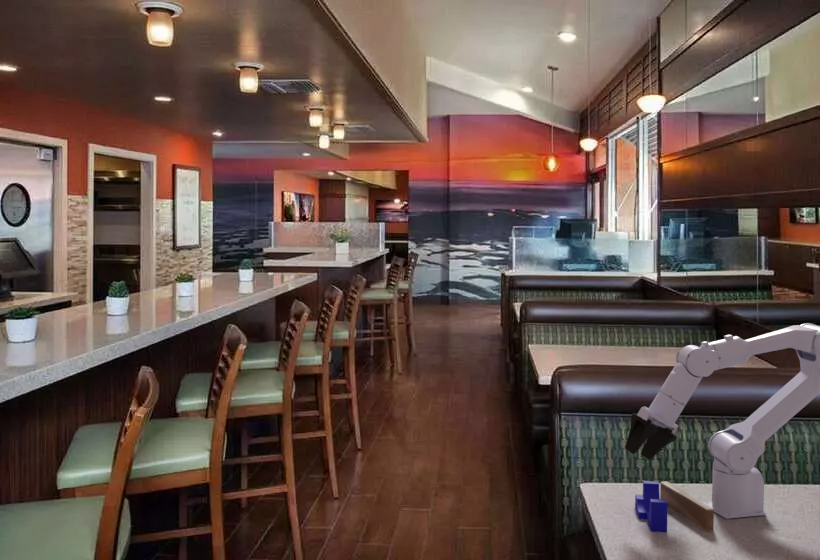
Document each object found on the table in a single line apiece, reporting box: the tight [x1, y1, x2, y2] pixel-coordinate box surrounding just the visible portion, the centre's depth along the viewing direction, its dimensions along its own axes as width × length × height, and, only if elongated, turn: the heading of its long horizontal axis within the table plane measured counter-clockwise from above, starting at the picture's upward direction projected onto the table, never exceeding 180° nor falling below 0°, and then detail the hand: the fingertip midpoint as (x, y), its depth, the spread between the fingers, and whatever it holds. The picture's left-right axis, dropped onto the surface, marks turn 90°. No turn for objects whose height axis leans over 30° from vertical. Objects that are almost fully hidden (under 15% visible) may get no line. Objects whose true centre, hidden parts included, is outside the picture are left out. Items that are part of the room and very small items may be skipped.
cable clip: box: [634, 480, 668, 533], centre depth 144 cm, size 12×4×6 cm, turn 169°
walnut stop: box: [659, 480, 715, 532], centre depth 146 cm, size 2×16×4 cm, turn 13°
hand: (637, 454), depth 148 cm, fingers open, 7 cm apart
